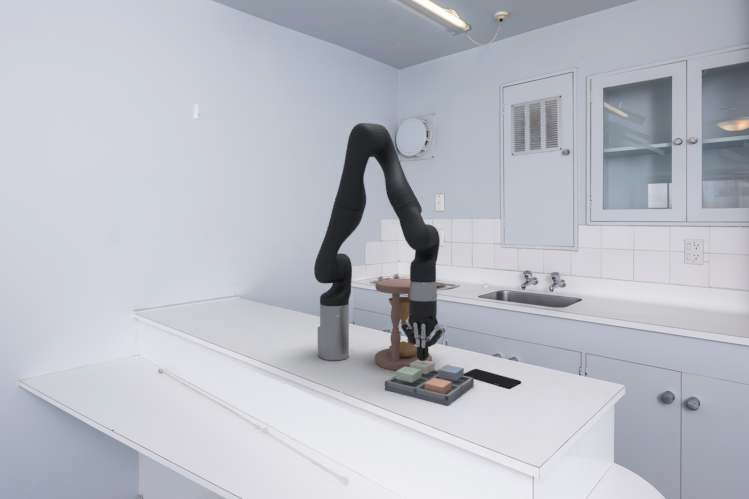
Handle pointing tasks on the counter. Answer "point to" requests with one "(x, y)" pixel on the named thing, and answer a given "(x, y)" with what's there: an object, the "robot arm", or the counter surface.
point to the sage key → (408, 374)
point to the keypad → (419, 391)
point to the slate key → (451, 372)
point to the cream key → (423, 366)
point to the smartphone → (493, 378)
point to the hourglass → (398, 351)
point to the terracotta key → (438, 385)
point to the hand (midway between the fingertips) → (422, 360)
